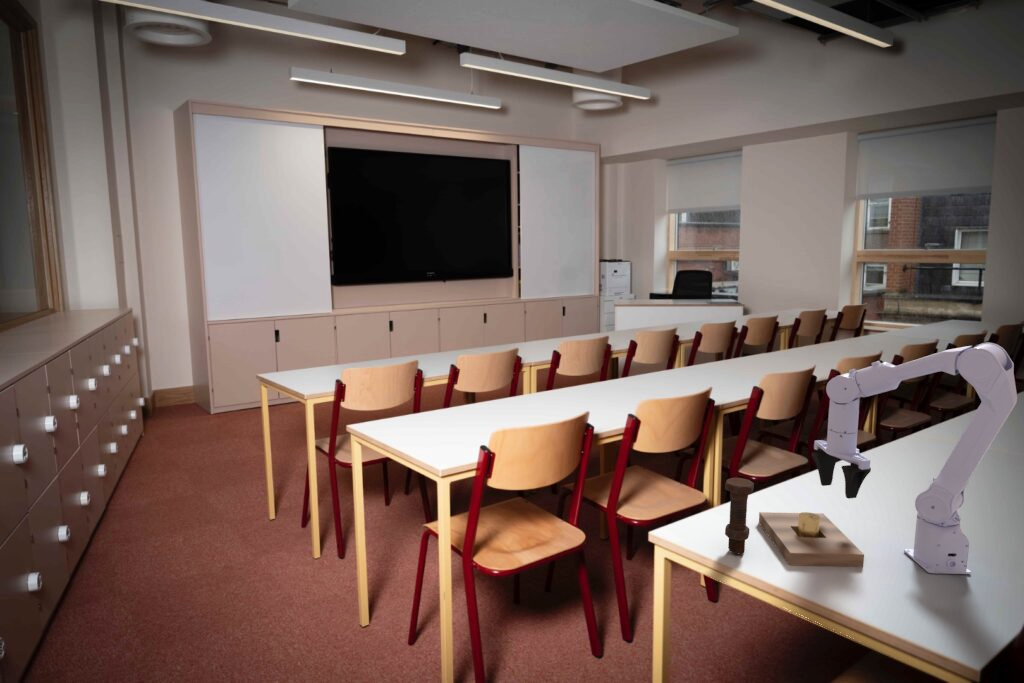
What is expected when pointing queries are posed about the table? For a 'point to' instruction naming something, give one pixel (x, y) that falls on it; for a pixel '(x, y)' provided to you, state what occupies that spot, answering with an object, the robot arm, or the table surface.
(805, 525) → the pin
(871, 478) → the table surface
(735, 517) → the bolt
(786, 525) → the slot block
